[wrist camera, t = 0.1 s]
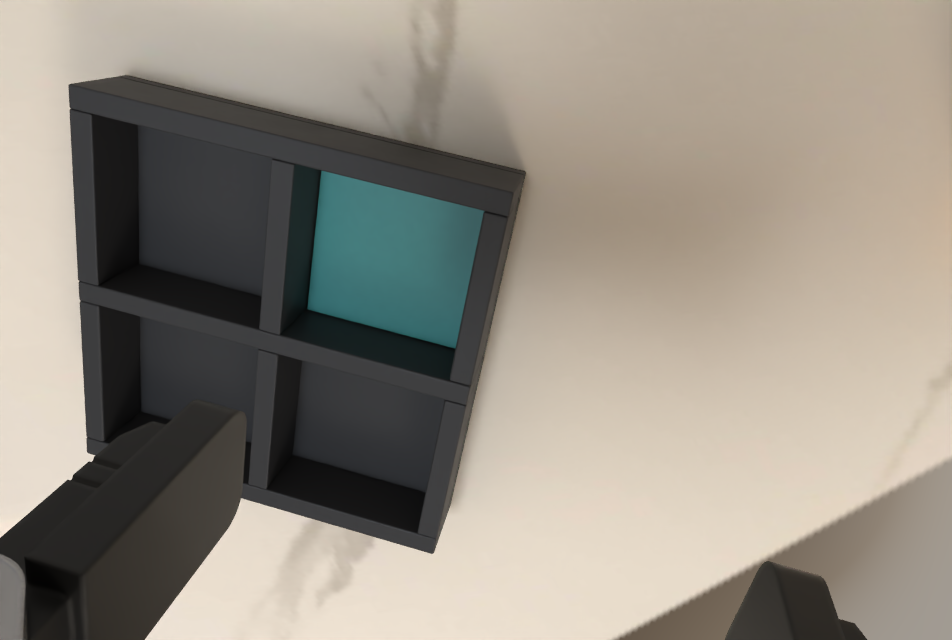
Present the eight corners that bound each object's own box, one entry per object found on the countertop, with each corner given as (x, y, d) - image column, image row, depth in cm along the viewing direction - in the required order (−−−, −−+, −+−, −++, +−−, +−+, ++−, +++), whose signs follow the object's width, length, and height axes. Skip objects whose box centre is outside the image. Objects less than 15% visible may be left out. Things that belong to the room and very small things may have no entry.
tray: (125, 74, 26) (67, 83, 23) (526, 171, 25) (513, 192, 22) (131, 415, 32) (86, 453, 30) (449, 506, 31) (433, 554, 28)
